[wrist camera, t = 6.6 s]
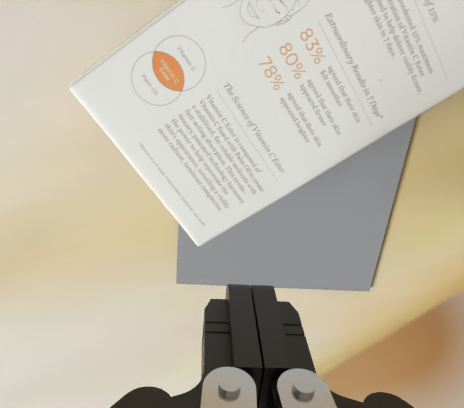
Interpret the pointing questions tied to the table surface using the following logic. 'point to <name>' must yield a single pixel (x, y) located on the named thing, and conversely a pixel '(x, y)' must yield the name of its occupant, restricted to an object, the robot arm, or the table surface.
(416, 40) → the small box
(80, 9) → the table surface
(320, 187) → the mat
